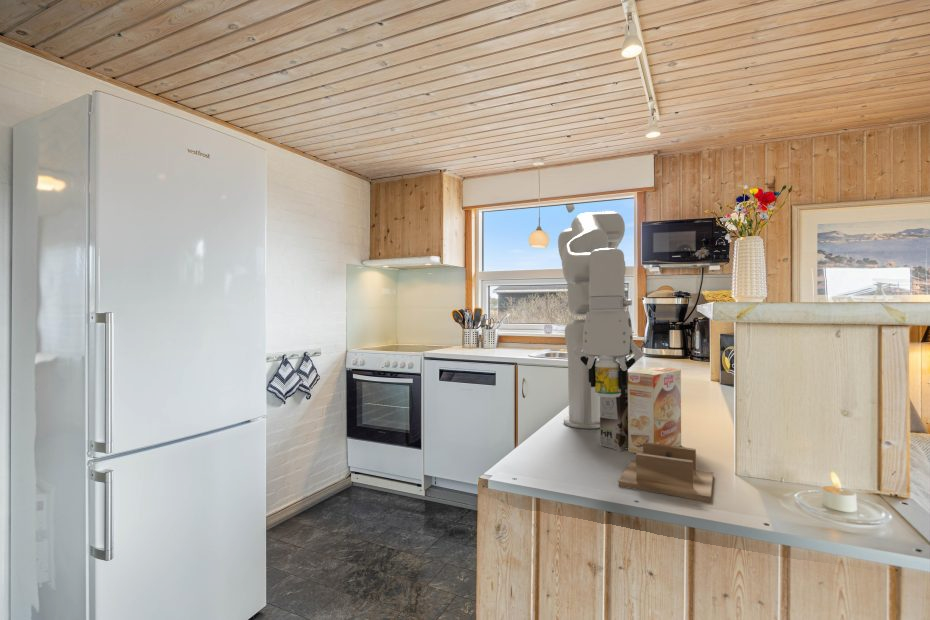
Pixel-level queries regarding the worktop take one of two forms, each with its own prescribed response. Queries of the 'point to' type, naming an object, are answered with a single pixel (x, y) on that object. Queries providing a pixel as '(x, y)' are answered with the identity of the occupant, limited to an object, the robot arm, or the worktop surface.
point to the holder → (668, 473)
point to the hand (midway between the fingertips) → (608, 386)
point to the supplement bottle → (607, 377)
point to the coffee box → (614, 421)
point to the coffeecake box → (654, 408)
